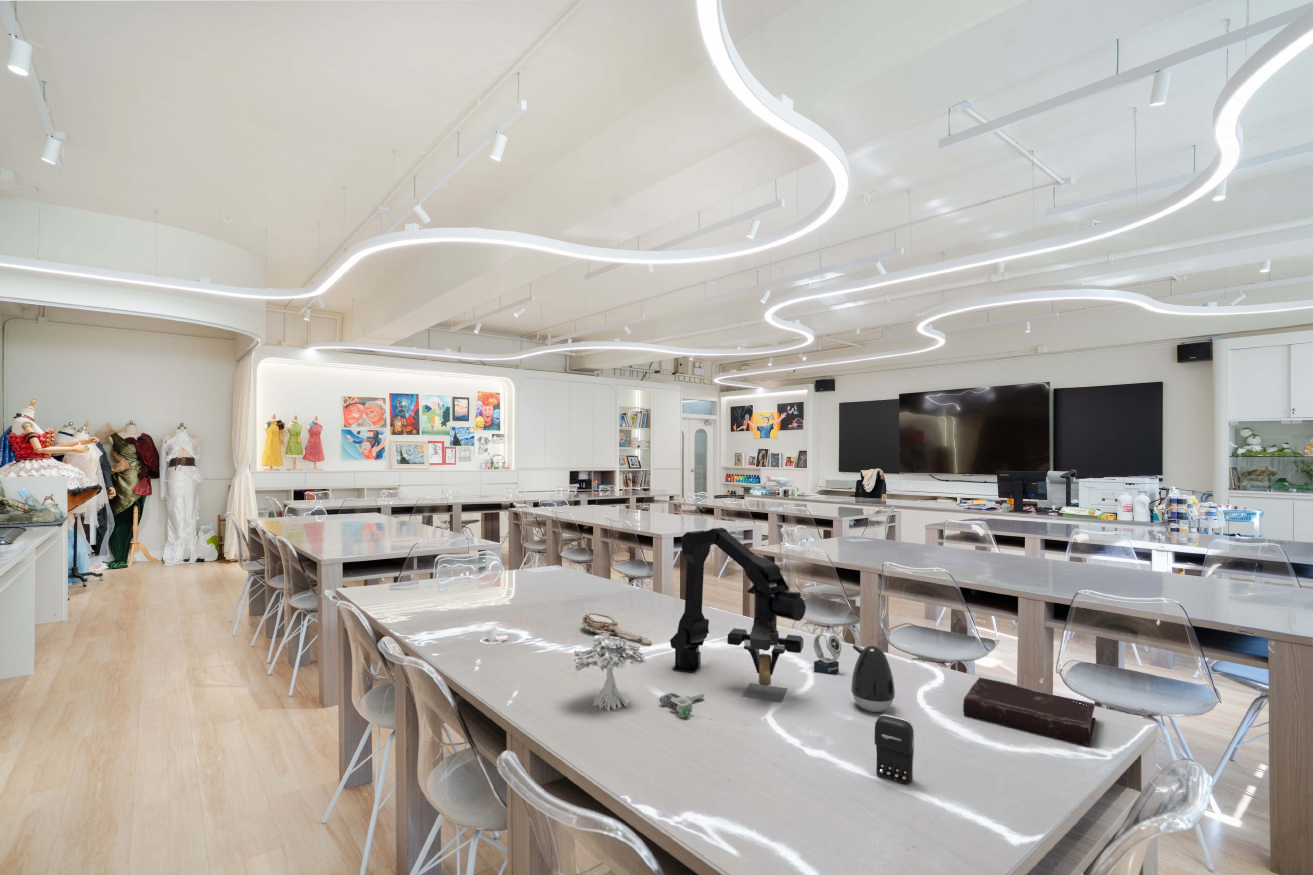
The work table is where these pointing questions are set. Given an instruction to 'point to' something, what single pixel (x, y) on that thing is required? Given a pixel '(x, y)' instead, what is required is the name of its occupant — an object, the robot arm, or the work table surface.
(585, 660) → the tree
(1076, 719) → the diary
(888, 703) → the pump dispenser
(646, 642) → the hand mirror
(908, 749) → the battery charger
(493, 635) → the teacup and saucer
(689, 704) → the mechanical component
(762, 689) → the mat
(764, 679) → the dowel
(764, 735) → the work table surface
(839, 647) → the watch
